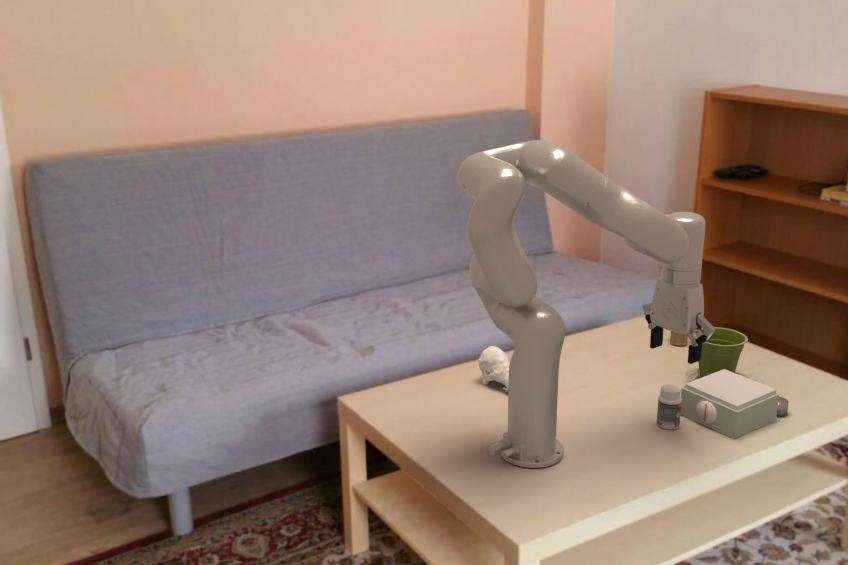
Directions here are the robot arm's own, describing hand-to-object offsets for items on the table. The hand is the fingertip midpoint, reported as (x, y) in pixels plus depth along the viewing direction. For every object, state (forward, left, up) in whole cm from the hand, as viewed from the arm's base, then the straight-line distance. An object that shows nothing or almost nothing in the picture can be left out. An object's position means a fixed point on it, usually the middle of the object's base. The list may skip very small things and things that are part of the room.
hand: (674, 354), depth 181 cm
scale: (+13, -5, -16) cm, 21 cm away
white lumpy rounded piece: (-16, +35, -16) cm, 42 cm away
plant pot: (+26, +8, -16) cm, 31 cm away
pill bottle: (0, 0, -16) cm, 16 cm away
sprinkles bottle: (+37, +28, -16) cm, 49 cm away
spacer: (+23, -10, -16) cm, 30 cm away
